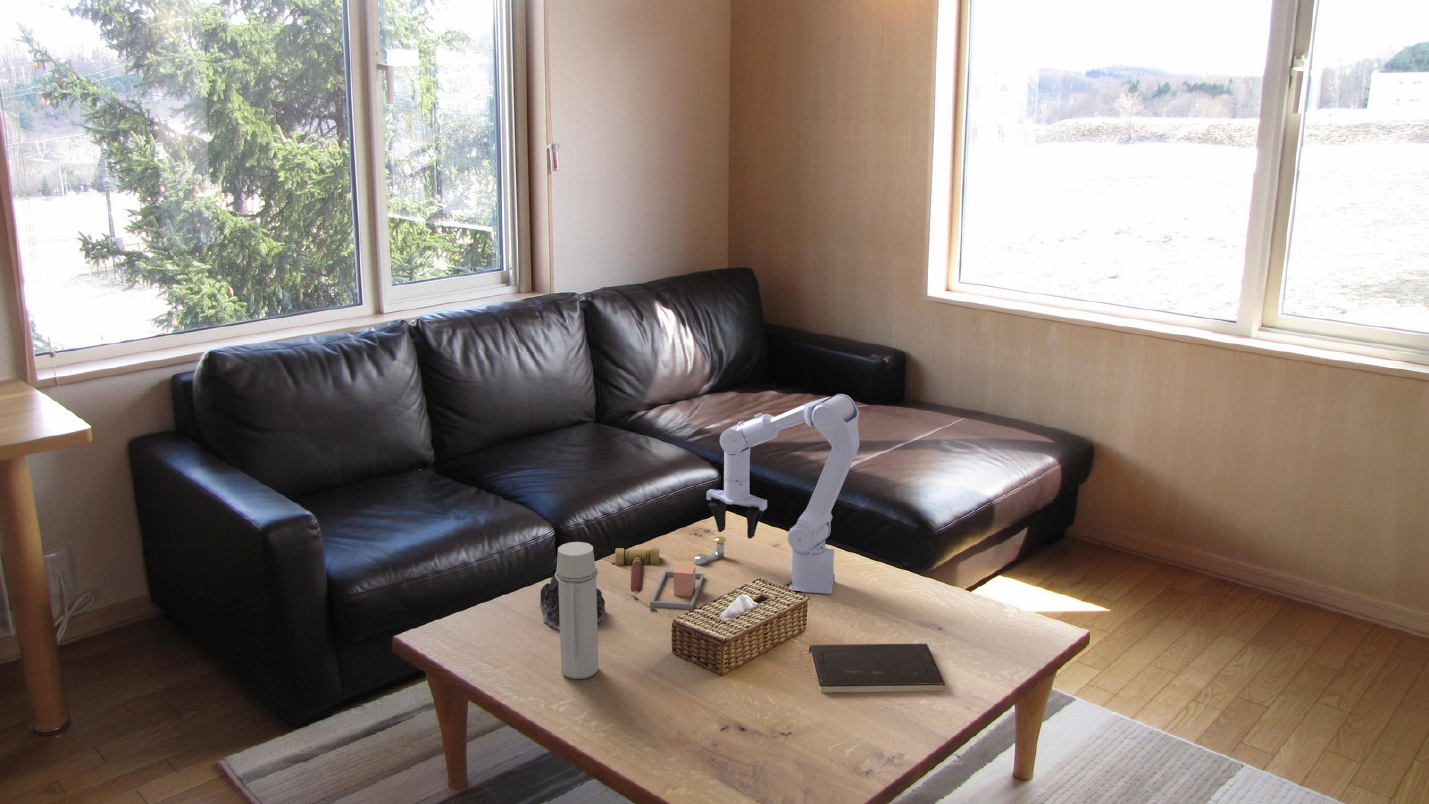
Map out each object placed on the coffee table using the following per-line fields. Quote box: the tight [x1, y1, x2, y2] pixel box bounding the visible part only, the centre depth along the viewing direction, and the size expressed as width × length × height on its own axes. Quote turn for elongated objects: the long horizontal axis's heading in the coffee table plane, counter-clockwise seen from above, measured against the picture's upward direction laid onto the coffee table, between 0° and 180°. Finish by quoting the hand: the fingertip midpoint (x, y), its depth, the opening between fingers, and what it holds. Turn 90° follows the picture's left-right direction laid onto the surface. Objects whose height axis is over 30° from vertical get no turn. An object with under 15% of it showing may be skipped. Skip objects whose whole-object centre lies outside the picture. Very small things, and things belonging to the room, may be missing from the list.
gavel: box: [614, 547, 660, 600], centre depth 251 cm, size 21×5×10 cm
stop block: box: [673, 564, 696, 598], centre depth 242 cm, size 4×4×6 cm
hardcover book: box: [808, 642, 946, 693], centre depth 212 cm, size 16×23×2 cm
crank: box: [693, 536, 727, 566], centre depth 259 cm, size 8×3×5 cm, turn 127°
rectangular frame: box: [649, 570, 705, 612], centre depth 243 cm, size 9×16×2 cm, turn 172°
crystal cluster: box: [539, 573, 606, 631], centre depth 233 cm, size 13×14×10 cm
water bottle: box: [554, 541, 599, 680], centre depth 208 cm, size 9×8×25 cm
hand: (736, 533), depth 256 cm, fingers open, 7 cm apart
